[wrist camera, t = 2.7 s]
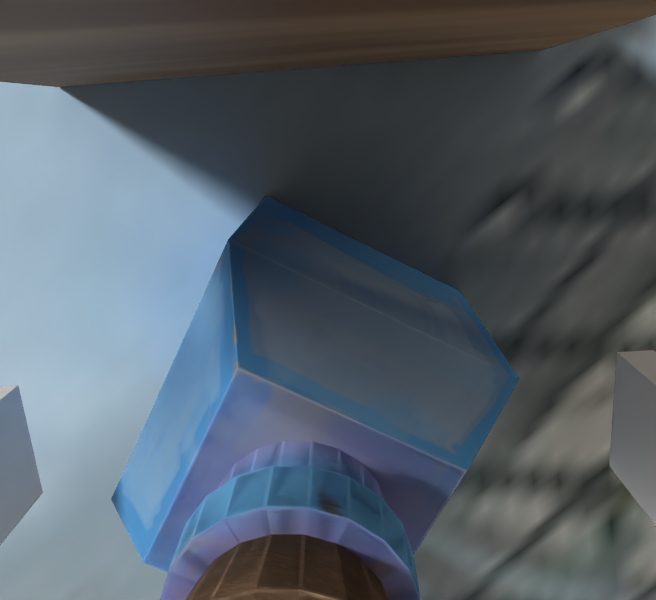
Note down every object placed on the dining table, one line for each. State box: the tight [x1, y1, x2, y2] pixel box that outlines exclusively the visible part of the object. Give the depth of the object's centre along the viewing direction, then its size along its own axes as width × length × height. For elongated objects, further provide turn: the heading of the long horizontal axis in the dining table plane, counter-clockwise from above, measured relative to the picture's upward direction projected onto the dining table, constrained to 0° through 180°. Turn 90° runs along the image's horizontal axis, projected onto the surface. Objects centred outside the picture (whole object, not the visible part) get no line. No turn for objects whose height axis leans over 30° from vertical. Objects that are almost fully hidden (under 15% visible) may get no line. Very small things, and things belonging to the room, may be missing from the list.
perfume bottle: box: [111, 196, 519, 600], centre depth 13 cm, size 6×6×12 cm
